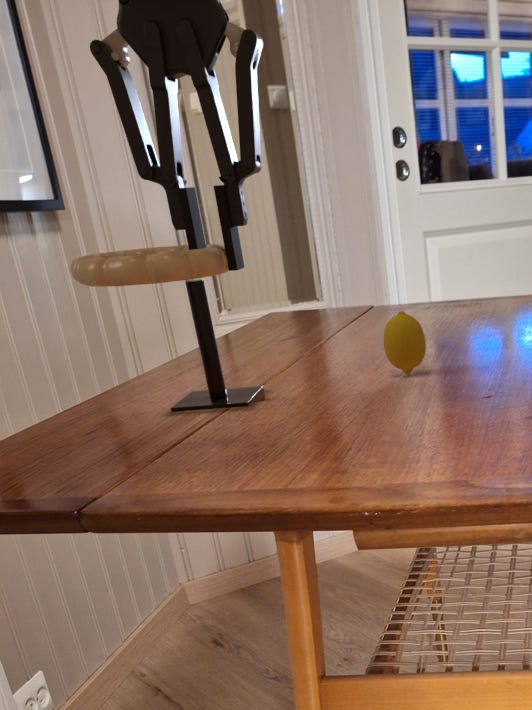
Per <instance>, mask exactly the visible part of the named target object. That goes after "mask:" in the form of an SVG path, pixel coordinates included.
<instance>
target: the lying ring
mask: <svg viewBox="0 0 532 710" xmlns="http://www.w3.org/2000/svg"><path fill="white" fill-rule="evenodd" d="M205 244H206V248H201V249H194V250H189V247H188V244H184V245H168V246H155V247H145V248H135V249H134V248H133V249H124V250H115V251H107V252H100V253H99V252H98V253H92V254H86V255H83V256H78V257H76V258H74V259H73V260H72V261H71V264H70V268H69V269H70V270H69V271H70V274H71V276H72V277H73V279H74V280H75V281H76V282H78V283H79V284H82V285H84V286H87V287H96V288H99V287H100V288H101V287H102V288H103V287H126V286H140V285H141V286H142V285H155V284H156V285H157V284H162V283H163V284H165V283H171V282H172V283H174V282H180V281H181V282H182V281H189V280H198V279H203V278H208V277H214V276H221V275H222V274H224V273H225V274H226V273H227V272H230V271H229V269H228V262H227V257H226V252H225V247H224V244H220V243H219V244H216V243H205Z"/></svg>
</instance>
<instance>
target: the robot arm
mask: <svg viewBox="0 0 532 710" xmlns="http://www.w3.org/2000/svg"><path fill="white" fill-rule="evenodd" d="M117 11H118V12H117V16H116V29H115V30H113V31H112V32H111V33H109V34H108V35H107V36H106V37H104V38H103V39H102V40H100V39H93V40H92V41H91V42H90V44H89V51H90V53H91V55H92V56H93V58H94V59H95V61H96V62H97V64H98V65H99V67H100V68H101V70H102V71H103V74H105V76H106V78H107V82H108V84H109V88H110V91H111V94H112V97H113V100H114V103H115V106H116V110H117V112H118V115H119V118H120V121H121V124H122V127H123V131H124V134H125V138H126V140H127V143H128V146H129V149H130V152H131V156H132V159H133V162H134V165H135V167H136V171H137V174H138V175H139V177H140V178H141V179H142V180H144V181H149V182H152V183H154V184H157V185H160V186H161V187H162V188H163V189H164V191H165V195H166V200H167V205H168V209H169V214H170V220H171V224H172V226H173V228H174V230H175V231H185V236H186V241H187V245H188V247H189V250H194V249H201V248H206V244H207V243H206V238H205V234H204V228H203V222H202V218H201V212H200V206H199V202H198V196H197V191H196V187H195V186H192V187H185V186H186V185H187V182H188V179H185V170H184V168H185V167H184V159H183V148H182V137H181V136H182V135H181V126H180V124H181V123H180V114H179V102H178V92H179V84H178V83H179V81H178V79H181V78H183V77H185V76H188V77H190V78H191V81H192V84H193V87H194V89H195V91H196V93H197V98H198V101H199V105H200V108H201V112H202V115H203V119H204V122H205V126H206V129H207V133H208V137H209V140H210V144H211V147H212V151H213V154H214V157H215V161H216V164H217V168H218V172H219V176H218V179H219V180H220V182H221V183H223V184H221V185H213V191H214V196H215V202H216V207H217V212H218V219H219V226H220V229H221V235H222V239H223V240H222V241H223V245H224V247H225V252H226V257H227V262H228V269H229V271H228V272H231V271H239V270H242V269H244V268H245V261H244V256H243V251H242V250H243V249H242V245H241V239H240V233H239V227H244V226H247V225H248V220H249V216H248V212H247V206H246V201H245V200H246V199H245V193H244V181H245V180H246V179H247V178H250V177H251V176H254V175H255V174H258V173H259V172H261V170H262V146H261V126H260V106H259V104H260V103H259V85H258V66H259V62H260V59H261V55H262V51H263V48H264V40H263V38H262V37H261V35H260V34H258V33H257V32H255V31H253V29H251V28H250V29H249V28H247V29H245V28H243V27H241V26H239V25H237V24H235V23H233V22H231V20H230V18H229V15H228V12H227V11H226V10H225V9H224V6H223V4H222V2H221V0H118V10H117ZM226 39H227V40H228V42H229V51H230V54H231V55H232V56H233V57H234V58H235V61H234V62H235V63H234V74H235V90H236V91H235V93H236V106H237V108H236V109H237V124H238V139H239V141H238V142H239V156H240V157H239V158H240V160H238V155H237V152H236V149H235V145H234V141H233V137H232V133H231V129H230V126H229V122H228V118H227V115H226V112H225V108H224V104H223V101H222V97H221V93H220V89H219V87H220V86H219V80H218V77H217V73H216V70H215V65H216V63H217V61H218V58H219V57H220V54H221V51H222V49H223V46H224V44H225V41H226ZM128 46H129V47H130V48H131V50H132V51H133V52H134V53H135V54H136V56H137V57H138V58H139V59H140V60H141V61H142V62H143V64H144V65H145V66H146V67H147V69H148V79H149V80H148V81H149V86H150V89H151V91H152V99H153V100H152V101H153V108H154V118H155V129H156V139H157V147H158V156H159V157H158V156H157V152H156V149H155V146H154V143H153V140H152V136H151V133H150V129H149V127H148V124H147V120H146V117H145V114H144V111H143V108H142V104H141V100H140V97H139V95H138V91H137V88H136V85H135V82H134V80H133V76H132V75H131V72H130V70H129V69H128V66H129V65H130V56H129V53H128Z"/></svg>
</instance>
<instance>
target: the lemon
mask: <svg viewBox="0 0 532 710" xmlns="http://www.w3.org/2000/svg"><path fill="white" fill-rule="evenodd" d="M383 330H384V331H383V350H384V353H385V356H386V358H387V360H388V361H389V363H390V364H391V365H392V366H393V367H394V368H396V369H399V370H401V371H402V372H403V373H404V374H405V375H410V374H411V373H412V372H413V370H414V369H415V368H417V367H418V366H419V365H421V363H422V362H423V360H424V358H425V355H426V350H427V349H426V348H427V343H426V336H425V332H424V329H423V327H422V324H421V323H420V322H419V320H418V319H417V318H415V317H414V316H413V315H410V314H409V313H406V312H405V311H404V310H401V311H398V312H397V313H396V314H395V315H394V316H392V317H391V318H389V320H388V321H387V322H386V325H385V327H384V329H383Z"/></svg>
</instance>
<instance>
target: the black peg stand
mask: <svg viewBox="0 0 532 710" xmlns="http://www.w3.org/2000/svg"><path fill="white" fill-rule="evenodd" d="M185 287H186V291H187V292H186V293H187V296H188V301H189V306H190V311H191V315H192V319H193V324H194V325H193V326H194V329H195V334H196V338H197V343H198V347H199V352H200V358H201V362H202V367H203V372H204V376H205V381H206V385H207V389H203V390H191V391H190V392H189V393H187V394H186V395H185V396H184V397H183V398H182V399H180V400H179V401H178V402H176V403H175V404H174V405H173V406H171V407H170V412H171V413H175V412H176V413H177V412H187V411H188V412H189V411H203V410H215V409H216V410H217V409H218V410H219V409H229V408H230V409H231V408H245V407H246V408H247V407H249V406H250V405H251V404H253V403H256V402H257V403H258V402H263V401H264V400H265V399H266V394H265V389H264V386H263V385H259V386H246V387H245V386H243V387H231V388H226V383H225V378H224V374H223V369H222V364H221V359H220V354H219V349H218V344H217V339H216V335H215V330H214V324H213V320H212V315H211V310H210V306H209V305H210V304H209V300H208V295H207V291H206V285H205V281H204V279H203V278H198V279H191V280H185Z"/></svg>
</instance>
